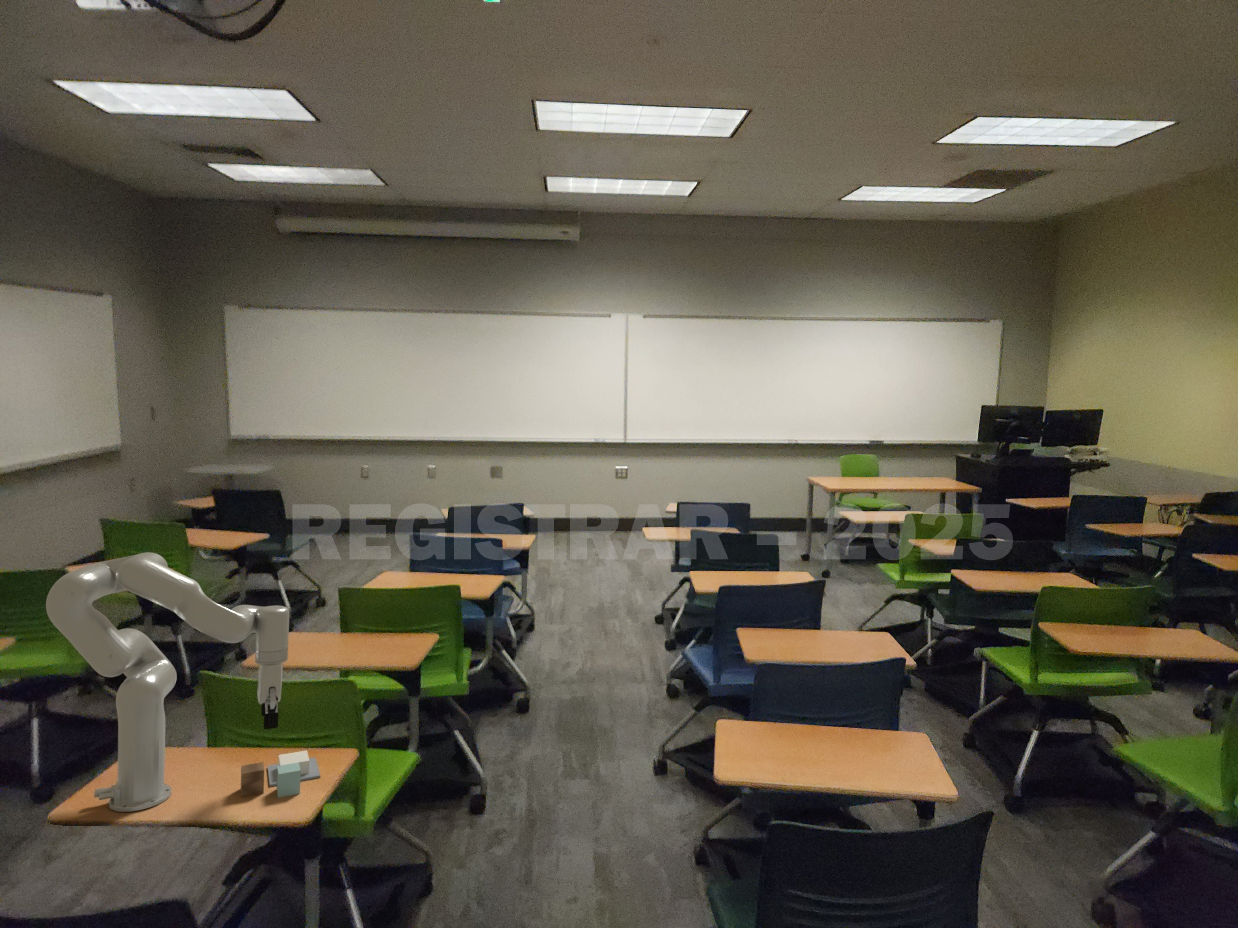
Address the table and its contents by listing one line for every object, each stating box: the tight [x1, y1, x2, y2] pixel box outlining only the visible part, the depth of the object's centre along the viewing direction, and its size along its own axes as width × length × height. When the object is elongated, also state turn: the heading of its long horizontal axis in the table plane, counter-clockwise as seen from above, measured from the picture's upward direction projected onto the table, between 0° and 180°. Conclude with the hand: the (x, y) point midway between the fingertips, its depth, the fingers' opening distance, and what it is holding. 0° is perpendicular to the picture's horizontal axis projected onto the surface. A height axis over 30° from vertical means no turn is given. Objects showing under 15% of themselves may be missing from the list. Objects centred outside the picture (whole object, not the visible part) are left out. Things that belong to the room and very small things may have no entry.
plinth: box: [267, 750, 321, 788], centre depth 186 cm, size 12×12×4 cm
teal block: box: [276, 762, 301, 799], centre depth 176 cm, size 5×5×6 cm
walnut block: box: [240, 761, 265, 798], centre depth 175 cm, size 5×5×6 cm
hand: (269, 721), depth 178 cm, fingers open, 9 cm apart
